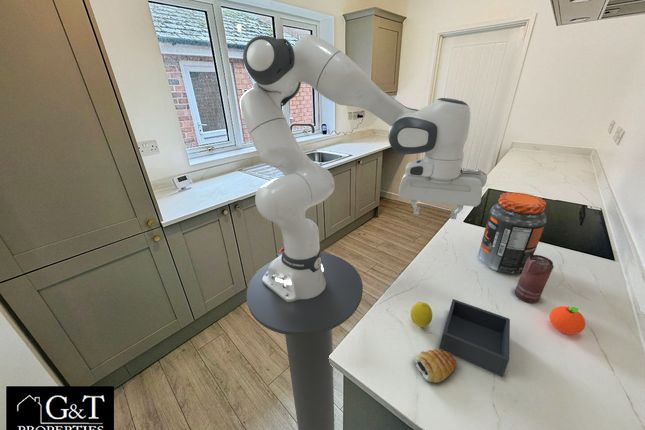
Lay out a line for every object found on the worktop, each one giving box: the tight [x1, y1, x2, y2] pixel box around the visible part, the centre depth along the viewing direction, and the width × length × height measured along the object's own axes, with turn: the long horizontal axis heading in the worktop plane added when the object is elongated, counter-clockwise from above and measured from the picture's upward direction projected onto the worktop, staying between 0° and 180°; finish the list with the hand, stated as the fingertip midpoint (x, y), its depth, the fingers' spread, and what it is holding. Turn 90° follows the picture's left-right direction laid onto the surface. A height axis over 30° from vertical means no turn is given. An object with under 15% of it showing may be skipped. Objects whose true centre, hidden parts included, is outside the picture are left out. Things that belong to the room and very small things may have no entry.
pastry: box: [413, 348, 457, 383], centre depth 61 cm, size 9×7×4 cm
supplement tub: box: [478, 191, 548, 275], centre depth 91 cm, size 16×16×26 cm
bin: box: [438, 298, 511, 377], centre depth 67 cm, size 14×14×6 cm
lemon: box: [410, 301, 433, 328], centre depth 71 cm, size 6×6×8 cm
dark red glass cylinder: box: [514, 254, 554, 304], centre depth 78 cm, size 6×6×14 cm
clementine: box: [549, 305, 586, 335], centre depth 69 cm, size 8×7×7 cm
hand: (434, 215), depth 73 cm, fingers open, 8 cm apart
